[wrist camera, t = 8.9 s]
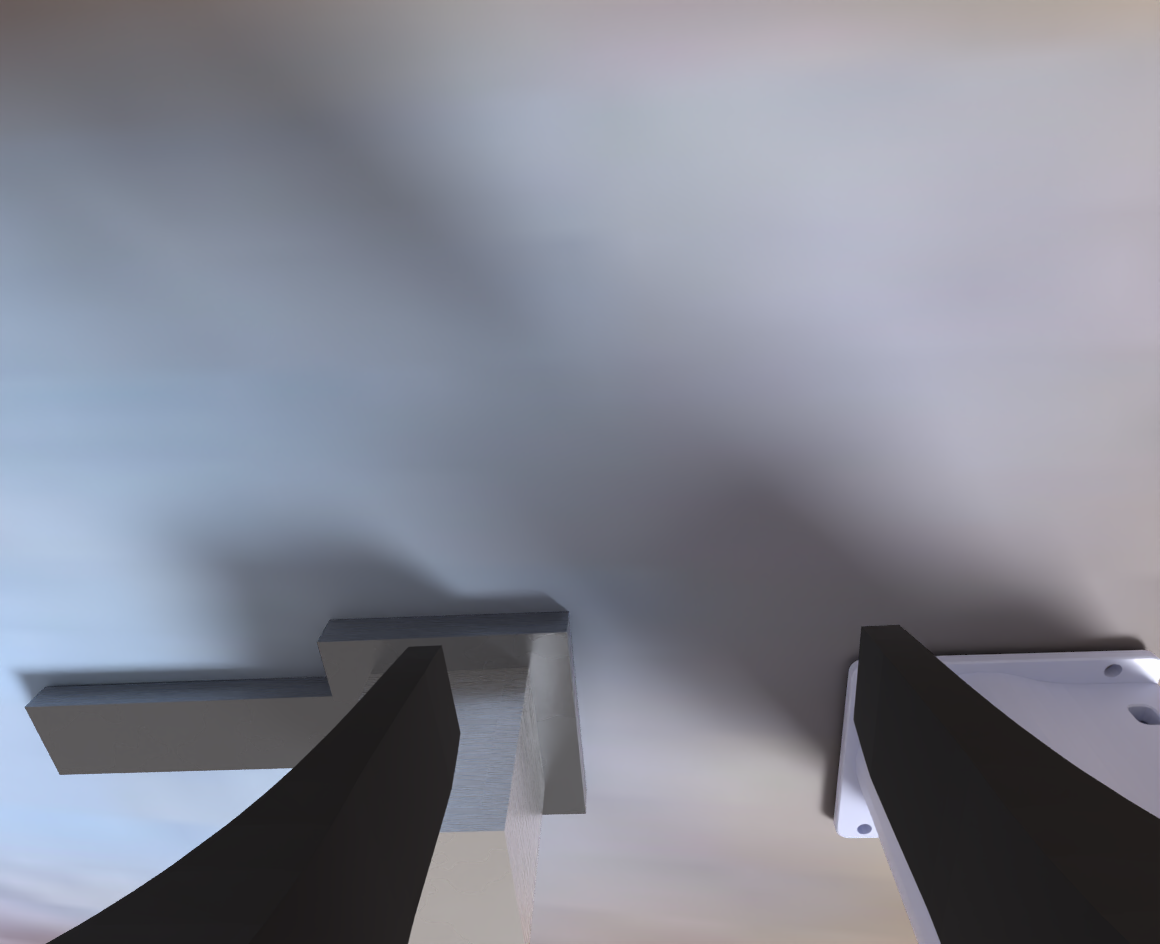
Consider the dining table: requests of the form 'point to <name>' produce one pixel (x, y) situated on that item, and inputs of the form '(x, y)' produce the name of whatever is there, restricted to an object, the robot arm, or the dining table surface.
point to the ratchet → (313, 703)
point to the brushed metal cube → (486, 817)
